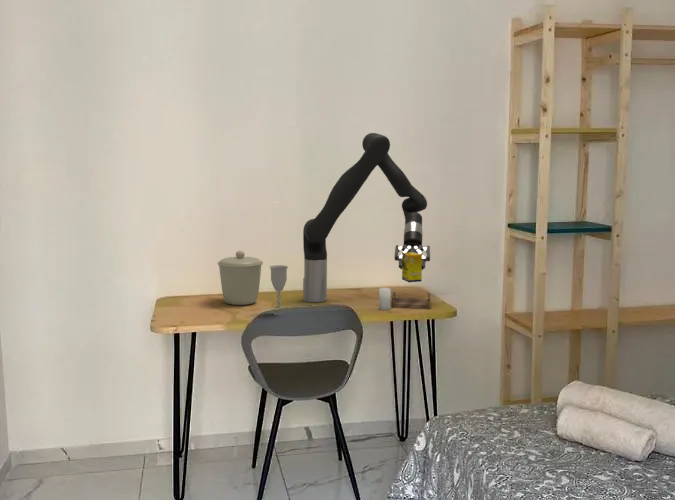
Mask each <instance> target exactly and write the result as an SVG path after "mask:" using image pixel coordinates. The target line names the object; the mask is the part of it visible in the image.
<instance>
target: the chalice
mask: <svg viewBox="0 0 675 500" xmlns="http://www.w3.org/2000/svg"><path fill="white" fill-rule="evenodd" d="M288 268H289V267H288V266H287V265H281V264H280V265H278V264H277V265H276V264H275V265H270V266H269V269H270V280H271V284H272V286H273V288H274V290H275V291H276V292H277V295H276V297H277V300H276V302H277V303H276V304H277V306H276V307H274V309H276V308H283V307H282V306H281V302H282V301H281V296H282V295H281V292H283V290H284V287H285V285H286V283H287V278H288V275H287V274H288V273H287V271H288Z"/></svg>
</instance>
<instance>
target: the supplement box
mask: <svg viewBox="0 0 675 500" xmlns="http://www.w3.org/2000/svg"><path fill="white" fill-rule="evenodd" d="M401 254H402V269H401V273H402V274H401V280H402V281H405V282H407V283H417V282H422V273H423V272H422V271H423V270H422V254H418V253H412V252H411V253H403V252H401Z"/></svg>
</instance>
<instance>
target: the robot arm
mask: <svg viewBox="0 0 675 500" xmlns="http://www.w3.org/2000/svg"><path fill="white" fill-rule="evenodd" d="M361 143H362V149H363V151H364V152H363V154H362V156H361V157H360V158H359V159H358V161H356V163H354V164H353V165H352V166H351V167H349V168H348V169H347V170H346V171H345V172H344V173H342V174H341V176H340V177H339V178H338V180H337V181H336V183H334V186H333V187H332V188H331V190H330V193H329V194H328V197H327V199H326V201H325V204H324V206H323V207H322V209H321V210H320V212H318V214H317V215H316V216H315V218H311V219H309V220H307V221H306V222H305V223H304V226H303V228H302V229H303V231H302V232H303V233H302V235H303V238H302V239H303V241H302V242H303V248H302V249H303V256H304V257H303V258H304V259H303V264H304V267H303V269H304V271H303V272H304V273H303V276H304V277H303V279H302V281H303V282H302V289H303V290H302V294H303V295H302V297H303V298H302V300H303V302H307V303H323V302H327V301H328V299H327V297H328V294H327V293H328V292H327V291H328V252H327V244H326V243H327V242H326V240H327V238H328V236H329V234H330V233H331V231H332V229H333V227H334V226H335V224H336V222H337V220H338V219H339V218H340V216H341V215H342V214H343V212H344V211H345V210H346V209H347V207H348V206H349V205H350V203H351V202H352V201H353V200H354V198H355V197H356V196H357V194H358V193H359V191H360V190H361V188H362V186H364V184H365V183H366V181H367V180H368V179H369V176H370V175H371V173H372V172H373V171H374V170H375V169H376V167H379V169H380V170H381V171H382V173H383V175H384V176H385V177H386V179H387V181H388V182H389V184H390V185H391V186H392V188H393V189H394V191H395V192H396V194H397V196H399V197H400V198H405V199H404V200H402V203H401V208H402V212H403V215H404V219H405V220H404V229H403V230H404V231H403V245H402V246H399V244H396V245H395V248H394V249H395V250H394V260H395V261H398V268H399V269H400V270H402V253H411V252H412V253H418V254H422V271H424V269H426V262H431V246H430V245H427V246H426V247H425V246H423V236H424V235H423V234H424V233H423V216H422V215H421V213H419V212H422V211H425V210H426V209H427V207H428V200H427V198H426V197H425V196H424V195H423V194H422V193H421V192H420V191H419V190H418V189H417V188H416V187H414V185H413V184H412V182H410V180H409V179H408V177H407V176H406V174H405V172H404V171H403V170H402V169H401V168H400V166H398V165H397V164H396V162H395V161H394V159H392V157H391V156H390V155H389V151H390V147H391V142H390V139H389V138H388V137H387V136H386V135H383V134H381V133H376V132H370V133H367V134H366V135H365V136H364V137H363V140H362V142H361ZM401 251H402V253H401V254H400V255H399V253H400V252H401ZM423 251H424V253H426V256H425V255H424V254H423Z"/></svg>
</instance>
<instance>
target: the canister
mask: <svg viewBox="0 0 675 500" xmlns="http://www.w3.org/2000/svg"><path fill="white" fill-rule="evenodd" d="M245 254H246V253H245V252H244V251H243V250H238V251H236V252H235V256H228V257H224V258H222V259H220V260H219V261H217V265H218V267H219V269H218V270H219V275H220V283H221V284H220V285H221V292H222V296H223V300H224V302H225V304H227V305H228V304H229V305H233V306H246V305H252V304H254V303H256V301H257V300H258V298H259V292H260V282H261V275H262V274H261V273H262V265H263V264H264V262H263V261H262V260H260V259H259V258H257V257H252V256H245Z"/></svg>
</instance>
